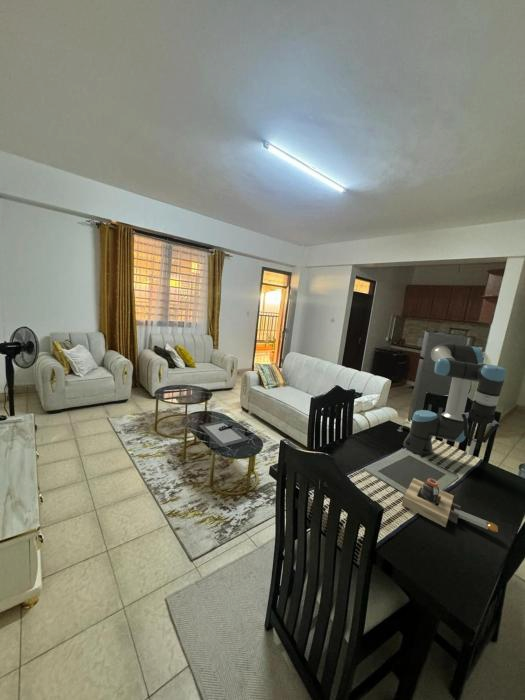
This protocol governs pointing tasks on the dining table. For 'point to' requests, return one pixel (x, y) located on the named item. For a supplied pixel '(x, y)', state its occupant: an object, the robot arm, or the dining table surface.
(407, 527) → the dining table surface
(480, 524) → the ring bar
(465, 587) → the dining table surface
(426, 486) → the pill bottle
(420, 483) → the block
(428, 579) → the dining table surface
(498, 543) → the dining table surface
